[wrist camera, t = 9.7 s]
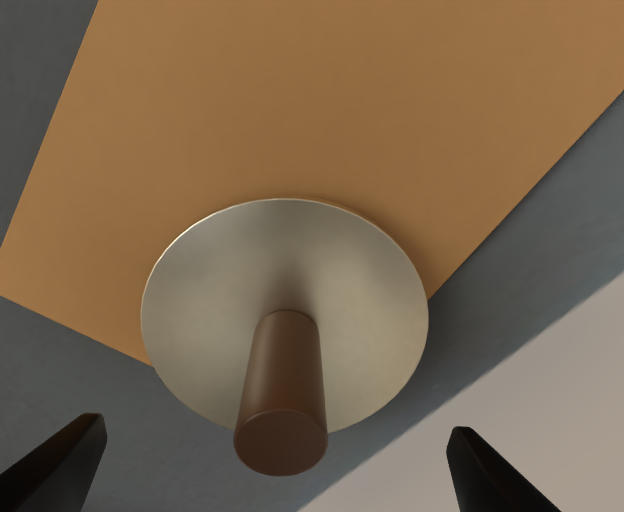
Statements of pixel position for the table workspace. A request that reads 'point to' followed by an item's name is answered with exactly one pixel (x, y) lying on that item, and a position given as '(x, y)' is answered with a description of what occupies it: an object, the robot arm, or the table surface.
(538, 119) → the mat
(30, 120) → the table surface
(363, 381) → the lid
